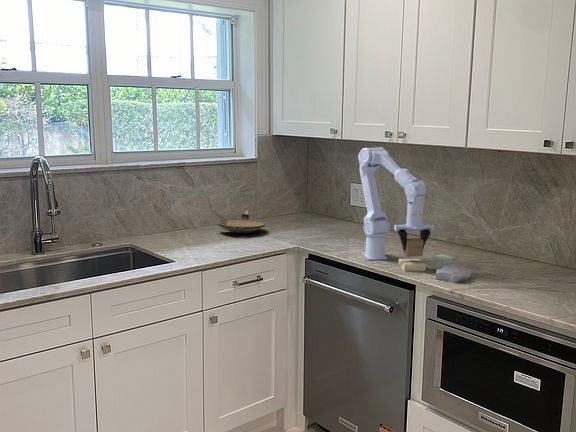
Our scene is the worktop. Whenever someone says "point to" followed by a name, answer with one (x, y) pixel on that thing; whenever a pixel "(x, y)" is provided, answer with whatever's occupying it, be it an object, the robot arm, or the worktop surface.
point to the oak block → (412, 265)
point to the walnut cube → (413, 247)
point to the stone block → (453, 273)
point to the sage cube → (441, 261)
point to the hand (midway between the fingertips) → (412, 249)
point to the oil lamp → (242, 225)
